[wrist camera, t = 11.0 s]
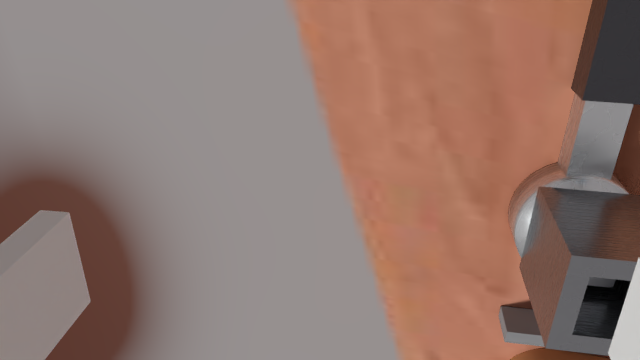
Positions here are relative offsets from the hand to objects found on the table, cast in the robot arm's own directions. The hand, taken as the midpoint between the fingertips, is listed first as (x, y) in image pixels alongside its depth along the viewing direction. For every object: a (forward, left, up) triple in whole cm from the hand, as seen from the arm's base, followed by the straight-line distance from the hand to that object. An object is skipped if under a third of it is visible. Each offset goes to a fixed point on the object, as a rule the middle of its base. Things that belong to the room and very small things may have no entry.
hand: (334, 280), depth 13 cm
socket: (+11, +14, -23) cm, 29 cm away
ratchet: (+5, +14, -26) cm, 30 cm away
